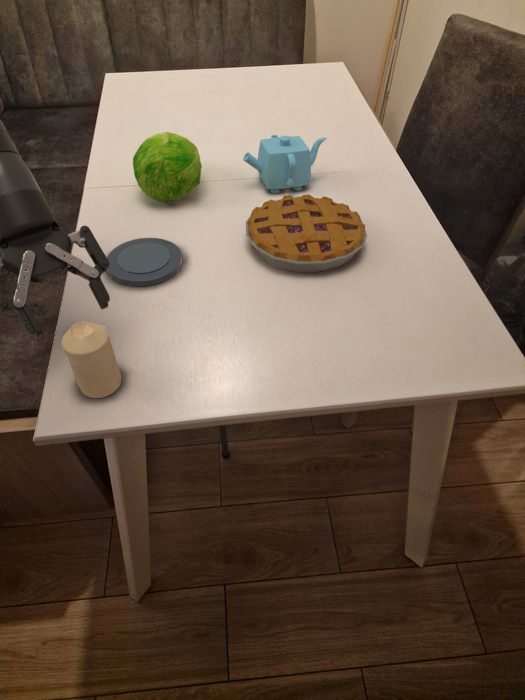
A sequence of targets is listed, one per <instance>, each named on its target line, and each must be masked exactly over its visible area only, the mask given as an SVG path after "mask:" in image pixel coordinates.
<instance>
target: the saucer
mask: <svg viewBox="0 0 525 700" xmlns="http://www.w3.org/2000/svg"><path fill="white" fill-rule="evenodd" d="M106 257H107V259H108V261H109V263H110V265H109V267H108V268H107V270H106V272H107V274H108V276H109V277H110V278H111V279H112V280H113V281H115V282H117V283H118V284H121V285H123V286H128V287H133V288H134V287H137V288H138V287H139V288H141V287H142V288H143V287H151V286H155V285H159V284H161V283H164V282H166V281H169V280H170V279H172V278H173V277H174V276H176V275H177V274H178V273H179V271H180V270H181V268H182V265H183V255H182V251H181V249H180V248H179V246H177V245H176V244H175V243H174V242H171V241H170V240H168V239H164V238H158V237H141V238H135V239H130V240H128V241H125V242H123V243H121V244H118V245H117V246H115V247H114V248H113V249H112V250H111V251H110V252H109V253H108V254H107V255H106Z"/></svg>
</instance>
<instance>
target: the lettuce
mask: <svg viewBox="0 0 525 700" xmlns="http://www.w3.org/2000/svg"><path fill="white" fill-rule="evenodd" d="M201 162H202V161H201V156H200V153H199V150H198V147H197V146H196V144H194V142H192V141H191V140H189V139H188V138H187V137H184V136H182V135H180V134H177V133H175V132H169V131H165V132H161V133H156V134H154V135H152V136H149V137H147V138H145V140H144V141H142V143H141V144H140V145H139V147H138V149H137V150H136V152H135V153H134V155H133V158H132V167H133V174H134V175H133V176H134V177H135V180H136V183H137V186H138V187H139V188H140V189H141V191H142V192H143V193H144V194H145V195H146V196H147V197H150V198H151V199H153V200H155V201H156V202H160V203H161V202H162V203H167V204H168V203H172V202H178V201H179V200H181V199H183V198H184V197H185V196H187V195H188V194H189V193H190V192H191V191H192V190H194V189H195V188H196V187H197V186H199V185H200V183H201V176H202V175H201V174H202V168H203V165H202V163H201Z"/></svg>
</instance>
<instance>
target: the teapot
mask: <svg viewBox="0 0 525 700" xmlns="http://www.w3.org/2000/svg"><path fill="white" fill-rule="evenodd" d="M326 140H328V137H320V138H317V139H316V140H315V141H314V142H313V144H312V147H311V150H310V148H309V146H308V145H307V144H306V142H305V141H304V140H303V138H301V136H299V135H292V136H288V135H282V136H279V137H278V135H277V134H272V135H271V136H270V138H264V139H260V141H259V147H258V155H257V157H255V156H254V155H252V154H251V153H250V152H245V154H244V155H243V158H242V160H243V161H244V162H245V163H246V164H248V165H249V166H251V167H252V168H254V169H255V170H256V171H257V172H258V175H259V177H260V180H261V181H262V183H263V185H264V186H265V188H266V189H267V190H270V193H273V194H278V193H280V192H281V189H288V188H292V190H294V191H301V190H303V188H302V186H308V185H309V184H310V181H311V176H312V166H313V165H314V163H315V162H316V159H317V156H318V152H319V149H320V147H321V145H322V144H323V143H324V142H325V141H326Z"/></svg>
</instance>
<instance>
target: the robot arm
mask: <svg viewBox="0 0 525 700" xmlns="http://www.w3.org/2000/svg"><path fill="white" fill-rule="evenodd" d="M72 244H75V245H77V247H79V248H81V249H85V251H86V252H87V254H88V256H89V257H90V259H91V261H92V262H93V264H94V266H91V265H90V264H88V263H85V262H84V260H82V259H81V258H79V257H77V256H75V255H73V254H71V248H72ZM109 265H110V263H109V261H108V259H107V255H106V254H105V252H104V251H103V249H102V247H101V245H100V244H99V241H98V240H97V239H96V237H95V235H94V234H93V232H92V230H91V229H90V227H89V226H88V225H82V226H81V227H80V228H79V229H78V230H77V231H74V232H70V233H69V234H67V233H65V231H64V230H63V229H62V228H61V227H60V225H59V223H58V221H57V219H56V217H55V215H54V212H53V211H52V209H51V207H50V206H49V204H48V201H47V199H46V197H45V196H44V194H43V192H42V190H41V188H40V186H39V184H38V182H37V180H36V178H35V176H34V175H33V173H32V171H31V170H30V167H28V165H27V164H26V163H25V161H24V160H23V158H22V155H21V154H20V152H19V150H18V148H17V147H16V144H15V142H14V141H13V139H12V136H11V135H10V133H9V131H8V128H7V127H6V125H5V123H4V121H2V119H1V118H0V271H1V270H2V269H3V268H4V269H6V270H8V271H9V272H11V273H14V274H15V275H17V276H18V279H17V284H16V289H15V293H14V297H12V298H5V295H4V292H2V289H1V288H0V312H1V313H3V312H10V311H13V312H15V313H17V315H18V317H19V318H20V320H21V322H22V324H23V326H24V327H25V329H26V332H27V333H28V334H30V335H34V334H35V335H36V337H37V338H39V337H41V336H43V335H44V331H43V329H42V327H41V326H40V323H39V322H38V320H37V318H36V316H35V314H34V312H33V310H32V309H31V307H30V305H29V304H28V305H27V298H28V294H29V291H30V287H31V283H38V284H40V283H43V282H45V281H47V280H49V278H54V277H59V276H62V275H63V273H65V271H67V272H69V273H71V274H73V275H74V276H78V277H81V278H82V279H84V280H86V281H88V282H89V283H88V287H89V288H90V291H91V292H92V294H93V297H94V298H95V300H96V302H97V304H98V306H99V308H100V310H105V309H107V308H109V302H110V301H111V296H110V294H109V292H108V290H107V288H106V286H105V284H104V282H103V280H102V275H103V274H104V273H106V272H107V268H108V267H109ZM1 273H2V272H0V277H1V276H2V274H1Z"/></svg>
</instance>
